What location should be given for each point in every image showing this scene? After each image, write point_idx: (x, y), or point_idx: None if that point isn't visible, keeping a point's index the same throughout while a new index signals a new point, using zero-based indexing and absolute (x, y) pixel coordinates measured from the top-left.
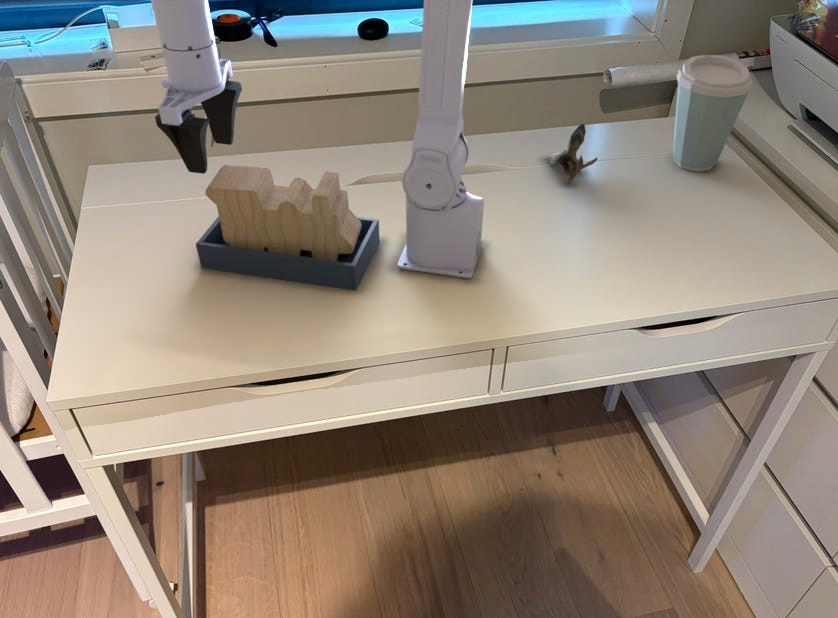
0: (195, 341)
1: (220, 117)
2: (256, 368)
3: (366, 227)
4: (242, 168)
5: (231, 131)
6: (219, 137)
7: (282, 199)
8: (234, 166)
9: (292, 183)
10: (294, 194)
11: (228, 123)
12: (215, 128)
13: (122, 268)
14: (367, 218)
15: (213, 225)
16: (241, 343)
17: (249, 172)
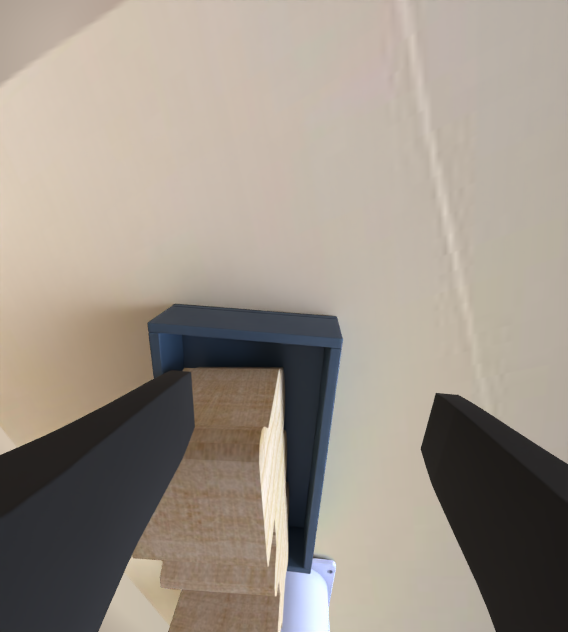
0: (14, 357)
1: (509, 560)
2: (11, 438)
3: (304, 545)
4: (247, 514)
5: (447, 516)
6: (444, 432)
7: (185, 563)
8: (256, 490)
9: (245, 585)
10: (200, 590)
11: (473, 554)
12: (472, 457)
13: (122, 143)
14: (310, 562)
15: (223, 335)
16: (40, 413)
17: (229, 532)
